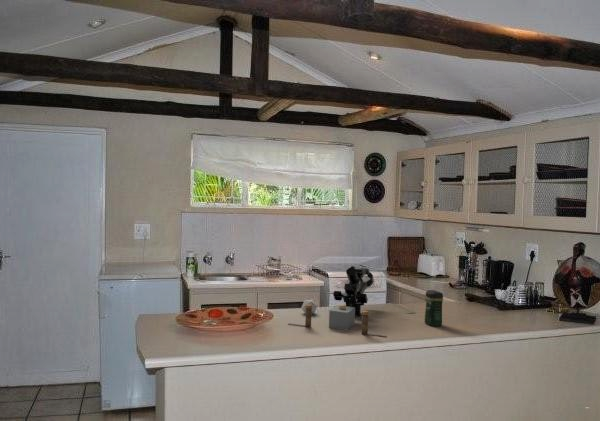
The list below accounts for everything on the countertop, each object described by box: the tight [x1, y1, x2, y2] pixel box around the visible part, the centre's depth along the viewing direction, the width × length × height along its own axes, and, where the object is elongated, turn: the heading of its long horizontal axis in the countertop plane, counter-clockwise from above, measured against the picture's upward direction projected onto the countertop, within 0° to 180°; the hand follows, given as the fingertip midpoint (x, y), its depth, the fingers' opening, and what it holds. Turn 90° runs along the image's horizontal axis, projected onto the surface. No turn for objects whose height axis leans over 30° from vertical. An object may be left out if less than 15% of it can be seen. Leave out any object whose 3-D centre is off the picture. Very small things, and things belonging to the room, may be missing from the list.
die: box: [301, 299, 318, 315], centre depth 290 cm, size 8×9×10 cm
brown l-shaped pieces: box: [287, 305, 387, 338], centre depth 255 cm, size 3×52×11 cm, turn 68°
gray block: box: [328, 304, 356, 331], centre depth 265 cm, size 14×10×11 cm
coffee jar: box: [424, 289, 444, 327], centre depth 273 cm, size 10×8×19 cm
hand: (347, 309), depth 273 cm, fingers closed
